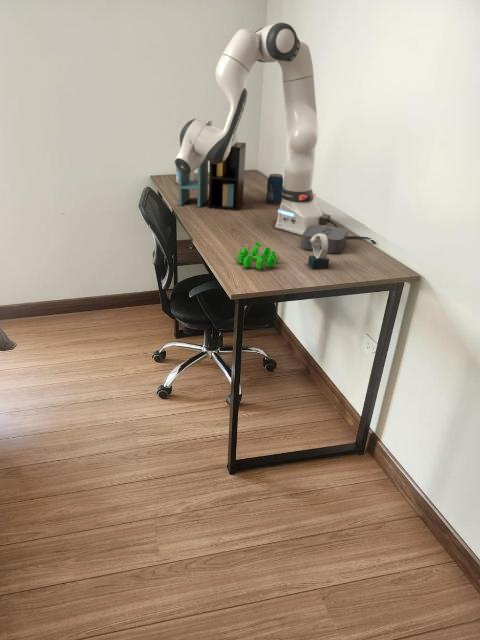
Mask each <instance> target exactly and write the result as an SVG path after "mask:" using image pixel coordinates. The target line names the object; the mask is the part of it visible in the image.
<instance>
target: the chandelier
mask: <svg viewBox="0 0 480 640" xmlns="http://www.w3.org/2000/svg"><path fill="white" fill-rule="evenodd" d="M260 247H262V243H261V242H255V243H254V246H253V247H252V249H251V251H250V250H249V248H247V247H241V248H240V249H239V251H238V252H237V253H236V254H235V257H234V260H235V262H236V263H237V264H239V265H243V268H245V269H249V268H250V267H251V266H252V264H253V261H254V260H256V263H255V264H256V267H255V268H256V269H258V271H261V270H262V269H263V268H264V264H265V266H266V267H267V268H270V269H271V268H274V267H275V266H276V264H277V263H278V261H279V259H280V254H279V253H278V252H277V251H275V250H271V248H270V247H268V246H266V247H265V248H264V249H263V251H262V254H261V255H259V248H260ZM237 256H238V258H237ZM237 259H238V260H237Z"/></svg>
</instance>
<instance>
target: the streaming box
mask: <svg viewBox="0 0 480 640" xmlns="http://www.w3.org/2000/svg"><path fill="white" fill-rule="evenodd" d="M320 233H322V234H326V235H327V238H328V252H327V253H331V254H339V253H341V252H342V250H343V249H344V247H345V246H346V244H347V239H348V238H347V236H348V229H346V228H345V227H344V228H343V227H338V228H337V227H335V226H328V225H325V226H321V225H310V226H309V227H308V228H307V229H306V230H305V231H304V233H303V235H302V238H301V248H302V249H305V250H308V251H313V247H312V242H310V239H311V238H312V237H313V236H314V235H316V234H320ZM321 250H322V246H321V247H320V251H321Z"/></svg>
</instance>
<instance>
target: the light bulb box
mask: <svg viewBox="0 0 480 640" xmlns="http://www.w3.org/2000/svg"><path fill="white" fill-rule="evenodd" d="M175 173H176V174H175V177H176V178H175V182H176V183H177V184H178V185H179V169H178V168H177V167H176V166H175ZM194 179H195V171H193V172H192V173H190V180H192V181H195V180H194Z"/></svg>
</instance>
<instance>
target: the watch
mask: <svg viewBox="0 0 480 640" xmlns="http://www.w3.org/2000/svg"><path fill="white" fill-rule="evenodd" d="M310 242H312V247H313V250H312V251H313V255H309V256H308V262H307V265H308V266H309V267H310V269H311V270H323V269H329V264H330V258H329V257H328V256H327V255H328V253H329V252H328V238H327V235H326V234H322V233H320V234H316V235H314V236H313V237H312V238H311V239H310ZM321 246H322V250H321V251H320V247H321Z"/></svg>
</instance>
